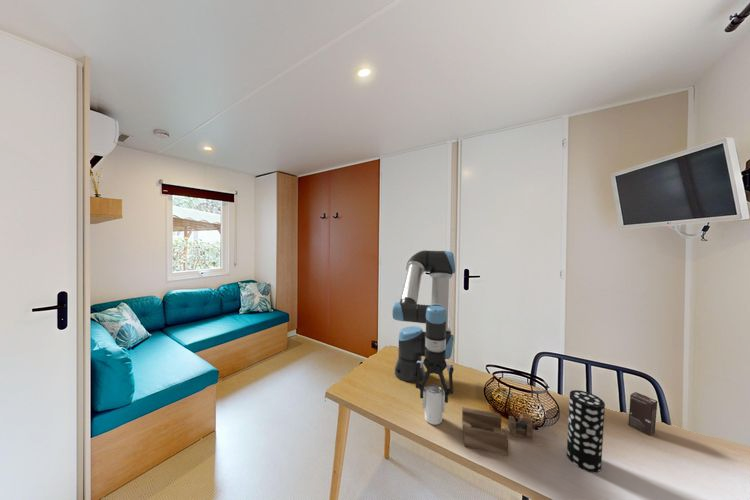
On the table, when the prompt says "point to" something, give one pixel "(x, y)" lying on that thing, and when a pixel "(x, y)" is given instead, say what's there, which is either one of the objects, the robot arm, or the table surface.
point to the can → (433, 404)
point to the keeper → (523, 421)
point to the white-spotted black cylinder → (585, 430)
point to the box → (642, 413)
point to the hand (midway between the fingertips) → (433, 407)
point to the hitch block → (488, 439)
